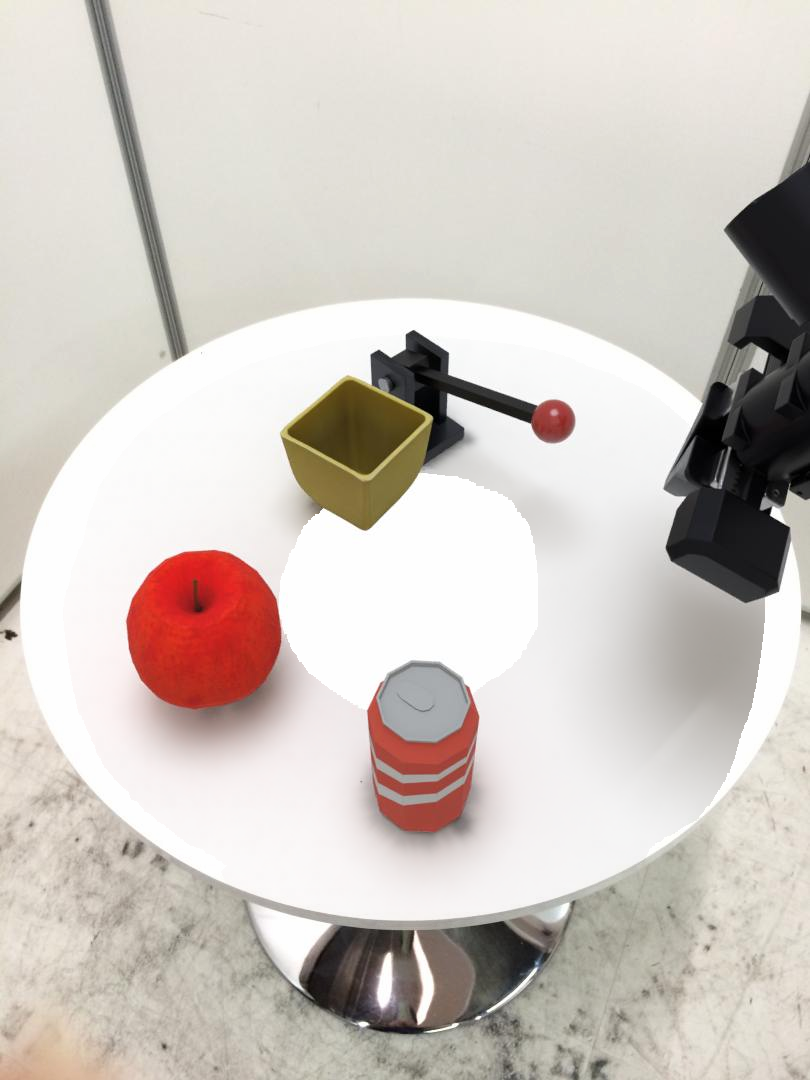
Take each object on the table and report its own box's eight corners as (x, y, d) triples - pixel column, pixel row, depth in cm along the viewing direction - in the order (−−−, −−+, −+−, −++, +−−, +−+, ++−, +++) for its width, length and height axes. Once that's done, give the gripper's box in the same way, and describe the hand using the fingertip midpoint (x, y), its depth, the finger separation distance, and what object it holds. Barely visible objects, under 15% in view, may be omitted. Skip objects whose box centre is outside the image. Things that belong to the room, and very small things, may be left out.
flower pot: (434, 493, 74) (436, 415, 67) (372, 558, 70) (367, 481, 63) (353, 451, 78) (347, 372, 71) (289, 511, 73) (276, 432, 66)
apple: (186, 771, 58) (142, 677, 49) (130, 665, 63) (82, 562, 54) (315, 699, 62) (298, 598, 52) (252, 604, 67) (227, 497, 58)
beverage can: (413, 729, 60) (413, 633, 51) (487, 785, 57) (502, 694, 48) (354, 794, 57) (343, 704, 48) (430, 856, 54) (434, 773, 45)
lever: (586, 435, 64) (583, 398, 62) (557, 456, 62) (553, 418, 61) (416, 374, 77) (409, 341, 75) (389, 391, 75) (381, 358, 73)
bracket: (464, 437, 79) (469, 360, 72) (416, 469, 76) (416, 392, 69) (404, 395, 82) (403, 317, 76) (356, 424, 80) (351, 346, 73)
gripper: (955, 618, 41) (736, 667, 56) (995, 328, 49) (793, 436, 63) (770, 508, 40) (591, 587, 54) (841, 224, 47) (667, 359, 61)
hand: (670, 488), depth 58 cm, fingers closed
